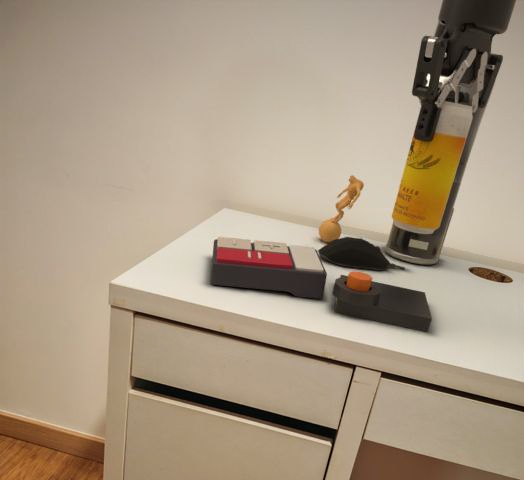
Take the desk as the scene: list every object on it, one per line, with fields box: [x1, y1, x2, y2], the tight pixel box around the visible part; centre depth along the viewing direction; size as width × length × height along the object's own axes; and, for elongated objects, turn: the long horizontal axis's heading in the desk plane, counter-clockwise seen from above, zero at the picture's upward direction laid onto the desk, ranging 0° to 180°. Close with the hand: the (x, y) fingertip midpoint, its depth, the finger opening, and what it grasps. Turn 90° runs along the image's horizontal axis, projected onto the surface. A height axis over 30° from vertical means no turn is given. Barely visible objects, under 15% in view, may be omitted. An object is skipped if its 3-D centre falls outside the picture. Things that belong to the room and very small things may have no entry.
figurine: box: [318, 174, 365, 243], centre depth 102 cm, size 8×6×12 cm
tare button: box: [346, 270, 373, 291], centre depth 74 cm, size 3×3×2 cm
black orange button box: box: [332, 274, 433, 333], centre depth 77 cm, size 11×13×4 cm
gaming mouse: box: [317, 236, 406, 271], centre depth 95 cm, size 6×15×4 cm, turn 95°
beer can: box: [391, 101, 473, 234], centre depth 71 cm, size 6×6×15 cm
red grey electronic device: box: [210, 236, 328, 300], centre depth 81 cm, size 11×4×15 cm
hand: (438, 141), depth 70 cm, fingers closed on beer can, 6 cm apart
